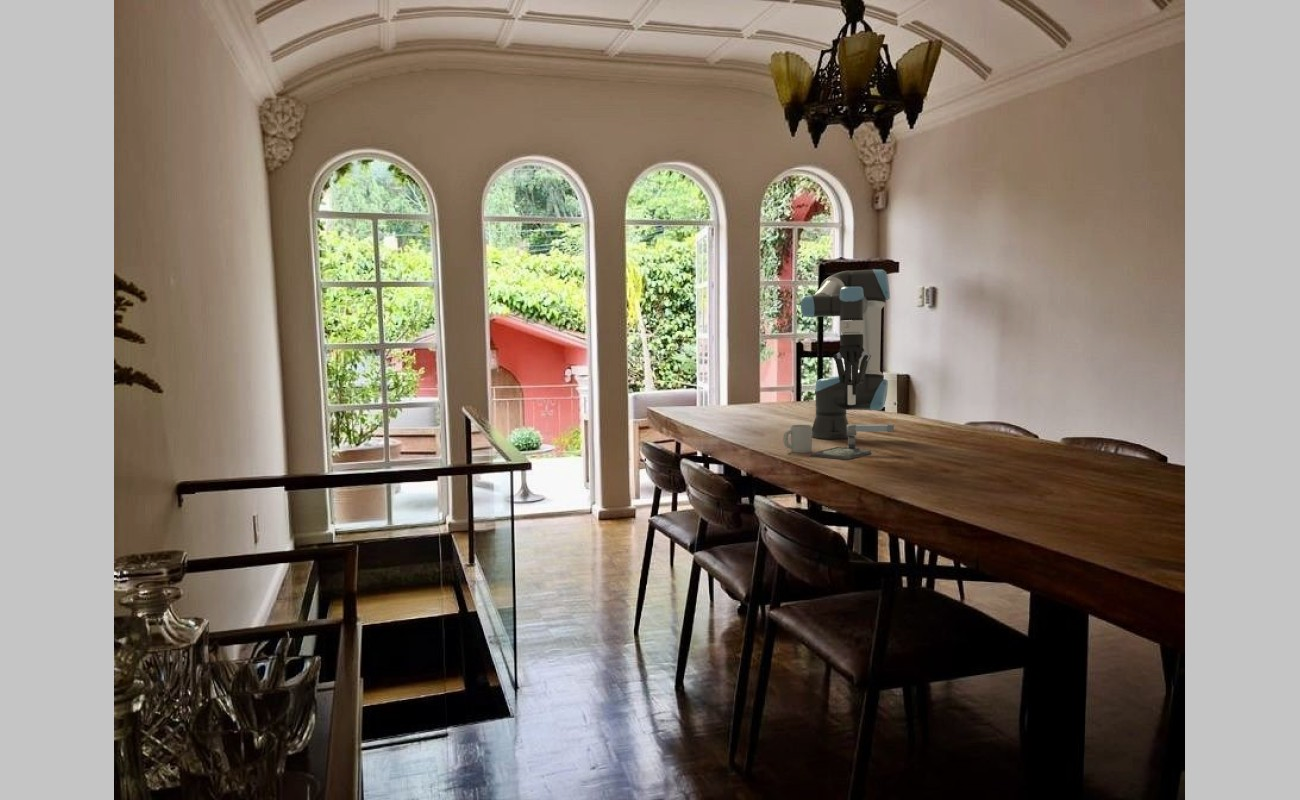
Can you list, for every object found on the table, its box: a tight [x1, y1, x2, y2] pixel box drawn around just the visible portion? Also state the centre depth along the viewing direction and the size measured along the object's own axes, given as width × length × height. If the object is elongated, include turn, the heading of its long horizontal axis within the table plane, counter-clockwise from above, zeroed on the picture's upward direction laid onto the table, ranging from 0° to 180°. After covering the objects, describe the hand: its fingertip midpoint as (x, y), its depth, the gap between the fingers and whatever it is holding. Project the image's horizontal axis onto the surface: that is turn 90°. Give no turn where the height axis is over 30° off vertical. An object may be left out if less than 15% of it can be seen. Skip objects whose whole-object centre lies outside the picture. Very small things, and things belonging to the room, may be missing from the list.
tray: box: [811, 435, 872, 461], centre depth 270 cm, size 16×13×6 cm
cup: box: [782, 424, 813, 454], centre depth 278 cm, size 7×10×9 cm
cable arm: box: [847, 423, 895, 437], centre depth 273 cm, size 15×3×4 cm, turn 78°
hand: (851, 404), depth 269 cm, fingers closed
